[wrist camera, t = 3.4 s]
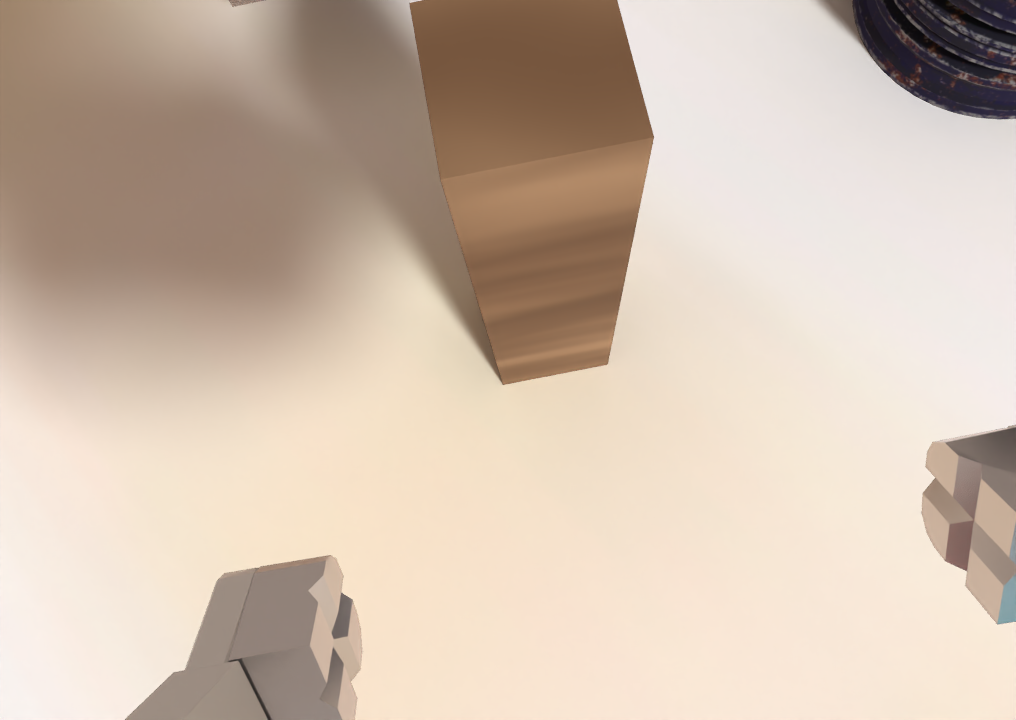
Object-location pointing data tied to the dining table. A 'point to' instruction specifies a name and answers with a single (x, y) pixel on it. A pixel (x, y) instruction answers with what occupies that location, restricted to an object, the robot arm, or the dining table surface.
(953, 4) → the rusty blue barrel
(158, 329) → the dining table surface
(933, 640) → the dining table surface
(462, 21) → the rail
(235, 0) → the bracket
